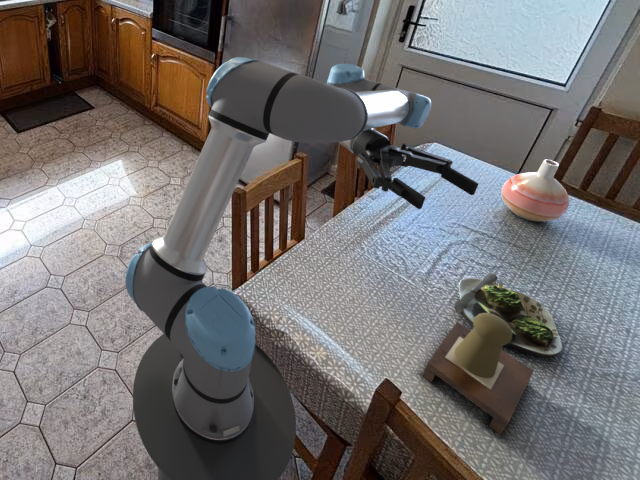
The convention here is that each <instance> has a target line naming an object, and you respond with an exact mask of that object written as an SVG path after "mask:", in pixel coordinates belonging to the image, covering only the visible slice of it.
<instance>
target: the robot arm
mask: <svg viewBox="0 0 640 480" xmlns="http://www.w3.org/2000/svg"><path fill="white" fill-rule="evenodd" d="M205 97H206V102H207V103H208V105H209V107H210V108H211V109H210V111H209V113H208V116H207V118H208V120H209V122H210V126H211V129H210V131H209V133H208V135H207V138H206V140H205V142H204V145H203V147H202V149H201V151H200V153H199V155H198V158H197V160H196V162H195V165H194V167H193V169H192V170H191V174H190V176H189V178H188V180H187V183H186V185H185V186H184V189H183V192H182V194H181V196H180V198H179V200H178V202H177V205H176V207H175V210H174V211H173V214H172V215H171V219H170V221H169V223H168V225H167V228H166V230H165V232H164V234H163V236H160V237H155V238H154V239H153V240H152V242H150V243H147V244H144V245H143V246H141V247H140V248H139V249H138V251H137V252H138V253H135V254H134V255H133V256H132V258H131V260H130V261H129V263H128V266H127V269H126V272H125V281H124V283H125V289H126V292H127V294H128V296H129V297H130V298H131V300H132V301H133V302H134V303H135V306H136V307H137V308H138V309H139V310H140V311H141V312H143V313H144V314H145V315H146V317H148V319H150V321H151V322H152V323H153V324H154V325H155V326H156V327H157V329H159V331H160V332H161V333H162V335H163V334H164V335H165V336H166V337H167V338H168V339H169V340H170V341H171V342H172V343H173V344H174V345H175V346H176V347H177V349H178V350H179V351H180V352H181V354H180V356H181V357H182V358H183V359H182V361H181V362H180V363H179V365H178V367H177V369H176V371H175V373H174V376H173V381H172V400H173V405H174V408H175V411H176V413H177V415H178V417H179V419H180V420H181V422H182V423H183V425H184V426H185V427H186V428H187V429H188V430H189V431H190V432H191V433H192V434H194V435H195V436H197V437H198V438H200V439H202V440H204V441H207V442H211V443H217V444H222V443H228V442H231V441H234V440H236V439H237V438H239V437H240V436H241V435H242V434H244V432H245V431H246V430H247V428H248V427H249V425H250V422H251V419H252V415H253V410H254V395H253V390H252V386H251V383H250V380H249V372H250V367H251V361H252V356H253V354H254V350H255V344H256V326H255V320H254V318H253V315H252V313H251V311H250V309H249V308H248V306H247V304H246V303H245V302H244V301H243V300H242V299H241V298H240V297H239V296H238V295H237V294H235V293H234V292H233V291H231V290H229V289H226V288H224V287H221V288H217V287H216V286H213V285H212V286H208V285H206V283H204V282H203V280H204V277H205V275H206V273H207V272H208V271H207V270H208V266H207V263H206V260H205V255H206V254H207V251H208V249H209V246H210V245H211V242H212V240H213V238H214V236H215V233H216V232H217V229H218V227H219V225H220V223H221V220H222V218H223V216H224V214H225V211H226V210H227V207H228V205H229V203H230V200H231V199H232V197H233V194H234V192H235V190H236V187H237V186H238V183H239V181H240V178H241V176H242V174H243V172H244V170H245V168H246V165H247V163H248V161H249V159H250V157H251V154H252V153H253V151H254V148H255V147H256V146H259V145H262V144H264V143H266V142H267V140H268V138H269V135H270V134H271V135H273V136H276V137H278V138H280V139H282V140H286V141H289V142H295V143H301V144H302V143H303V144H336V143H337V144H339V145H341V146H342V147H344V148H345V149H346V150H347V151H349V152H350V153H352V154H354V156H356V161H355V162H356V164H358V166H360V167H361V168H362V170H363V172H364V173H365V176H366V177H367V179H368V180H369V182H370V184H371V186H372V187H373V188H374V189H380V188H381V192H385V193H387V192H389V191H391V192H392V193H394V194H395V195H396V196H398V197H401V198H402V199H404V200H405V201H406V202H408V203H409V204H410V205H412V206H413V207H415V208H416V209H417V210H421V209H422V208H423V205H424V203H425V201H426V198H427V197H426V196H425V195H423V194H422V193H420V192H418V191H417V190H416V189H414V188H413V187H411V186H410V185H408V184H407V183H406V182H404V181H403V180H401V179H399V178H398V177H394V178H393V177H392V173H391V168H394V167H400V166H401V167H404V168H408V167H412V168H415V169H420V170H422V171H423V170H424V171H427V172H431V173H434V174H437V175H440V178H442V179H444V180H445V181H447V182H449V183H450V184H452V185H454V186H455V187H456V188H458V189H460V190H462V191H464V192H465V193H467V194H468V195H470V196H475V194H476V192H477V189H478V187H479V182H477V181H475V180H473V179H471V178H469V177H468V176H466V175H465V174H463V173H461V172H459V171H458V170H457V169H454V168H453V167H452V165H453V162H454V161H453V160H452V159H449V158H446V157H443V156H440V155H437V154H434V153H431V152H428V151H425V150H422V149H419V148H416V147H414V146H412V145H409V144H407V143H401V146H400V147H398V146H395V145H394V144H393V145H392V144H391V141H390V140H389V137H388V136H386V135H385V134H383V133H381V132H380V131H378V130H376V128H381V127H385V126H389V125H393V124H399V125H402V127H407V128H411V129H419V128H421V127H422V126H423V125H424V123H425V122H426V120H427V119H428V117H429V114H430V112H431V108H432V100H431V99H430V97H428V96H425V95H422V94H419V93H417V92H412V91H408V90H406V89H405V90H404V89H401V88H398V87H394V86H391V85H386V84H384V83H381V82H377V81H374V80H370V79H367V78H365V70H364V69H363V68H362V67H359V66H358V65H355V64H352V63H351V64H350V63H339V64H335V65H333V66H332V67H331V68H330V71H329V75H328V78H327V80H326V83H325V82H323V81H320V80H318V79H315V78H312V77H310V76H307V75H304V74H301V73H300V74H299V73H296V72H295V71H291V70H289V69H285V68H282V67H279V66H276V65H274V64H270V63H267V62H264V61H261V60H258V59H253V58H248V57H243V56H242V57H241V56H237V57H233V58H230V59H229V60H228V61H225V62H224V63H222V64H221V65H220V66H219V67H218V68H217V69H216V70H215V71H214V73H213V75H212V76H211V78H210V79H209V82H208V85H207V87H206V96H205ZM375 164H376V166H377V167H376V166H375Z"/></svg>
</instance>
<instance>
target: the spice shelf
mask: <svg viewBox="0 0 640 480" xmlns="http://www.w3.org/2000/svg"><path fill="white" fill-rule="evenodd" d="M471 331H472V329H471V328H470V329H469V328H468V327H467V326H465V325H464V324H462V323H460V322H459V321H456V322H455V324H454V325H453V327H452V329H451V330H450V331H449V333H448V334H447V335H446V336H445V338H444V339H443V341H442V342H441V344H440V345H439V347H438V348H437V349H436V350H435V352H434V354H433V355H432V356H431V358H430V359H429V360H428V362H427V364H426V366H425V368H424V370H423V372H422V374H421V376H422V377H423V378H425V379H426V380H427V381H429V382H430V383H432V382H433V381H434V379H435V378H436V377H438V378H439V379H441V380H442V381H444V382H445V383H446V384H447V385H448V386H451V388H453V389H455V390H456V391H457V392H458V393H460V394H461V395H462V396H464V397H465V398H466V399H468V400H469V401H471V402H472V404H474V405H476V406H477V407H478V408H480V409H481V410H482V411H484V412H485V413H486V414H488V415H489V416H491V417H492V419H491V421H490V423H489V425H488V427H489V428H490V429H491V430H493V431H495V432H496V433H497V434H498V435H501V434H502V433H503V431H504V430H505V429H506V427H507V426H508V424H509V422H510V421H511V419H512V416H513V415H514V414H515V413H514V412H515V411H516V408H517V406H518V405H519V402H520V400H521V398H522V396H523V395H524V393H525V390H526V389H527V386H528V384H529V382H530V379H531V378H532V376H533V375H534V371H535V370H534V369H532V368H531V367H529V366H528V365H526V364H524V363H523V362H521V361H520V360H518V359H517V358H515V357H514V356H512V355H510V354H509V353H507V352H506V351H505V350H503V349H502V351H501V354H500V358H499V361H498V365H497V368H496V372H495V375H494V376H493V377H491V378H482V377H479V376H476V375H474V374H472V373H471V372H469V371H468V370H466V369H465V368H464V367H463V366H462V365H461V364H460V363H459V362H458V360H457V358H456V356H455V349H456V348H457V346H458V345H459V344H460V343H461V342H462V341H463V340H464V338H465V337H466V336H467V335H468V334H469V333H470V332H471Z"/></svg>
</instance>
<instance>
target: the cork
mask: <svg viewBox="0 0 640 480" xmlns="http://www.w3.org/2000/svg"><path fill="white" fill-rule="evenodd" d="M473 325H474V327H473V328H472V329H471V332H470V333H469V334H468V335H467V336H466V337H465V338H464V340H463V341H462V342H461V343H460V344H459V345H458V346H457V348H456V349H455V356H456V358H457V360H458V362H459V363H460V364H461V365H462V366H463V367H464V368H465V369H466V370H468V371H469V372H471V373H472V374H474V375H476V376H479V377H482V378H491V377H493V376H494V375H495V372H496V368H497V365H498V361H499V358H500V354H501V351H502V350H503V347H504V346H505V345H506V344H508V343H509V342H510V341H511V339H512V331H511V328H510V326H509V325H508V324H507V323H506V322H505V321H504V320H503V319H501V318H500V317H498V316H496V315H494V314H491V313H480V314H478V315H477V316H476V317H475V318H474V322H473Z"/></svg>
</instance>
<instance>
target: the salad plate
mask: <svg viewBox="0 0 640 480" xmlns="http://www.w3.org/2000/svg"><path fill="white" fill-rule="evenodd" d="M497 280H498V276H497V274H495V273H493V272H488V273H487V274H486V275H485V276H484V277H483V278H482V279H481V278H477V277H464V278H462V279H460V280H459V283H458V293H459V299H458V300H456V302H455V303H454V305H453V309H454V311H455V313H459V315H461V316H462V317H463V318H465V319H466V321H467V322H468V323H469V324H470V325H471V327H473V328H474V325H473V322H474V318H475V317H476V316H477V315H478V314H480V313H491V314H494V315H496V316H498V317H500V318H501V319H503V320H504V321H505V322H506V323H507V324H508V325H509V326H510V328H511V331H512V339H511V341H510V342H509V343H508V344H506V345H504V346H506V347H507V348H510V349H512V350H515V351H517V352H519V353H522V354H526V355H530V356H534V357H539V358H540V357H541V358H544V359H545V358H554V357H556V356H558V355H559V354H560V353H561V352H562V351H563V348H564V347H563V342H562V340H561V336H560V334H559V331H558V329H557V326H556V322H555V320H554V318H553V316H552V314H551V312H550V311H549V310H548V309H547V308H546V307H545V305H543V304H542V303H541V302H539V301H538V300H536V299H535V298H533V297H531V296H530V295H528V294H525V293H523V292H520V291H517V290H513V289H512V288H507V287H504V286H503V285H504V284H503V283H497Z"/></svg>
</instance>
